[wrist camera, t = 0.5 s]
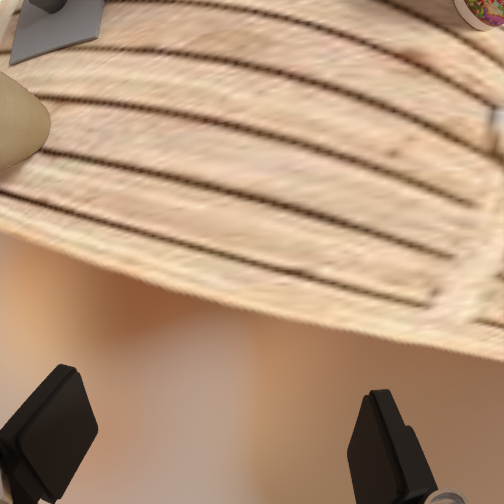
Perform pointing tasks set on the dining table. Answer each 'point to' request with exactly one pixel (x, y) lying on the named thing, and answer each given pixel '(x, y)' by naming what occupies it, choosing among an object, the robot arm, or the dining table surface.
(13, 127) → the plant pot
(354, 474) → the robot arm
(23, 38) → the lid
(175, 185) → the dining table surface
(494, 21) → the milk bottle
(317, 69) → the dining table surface
